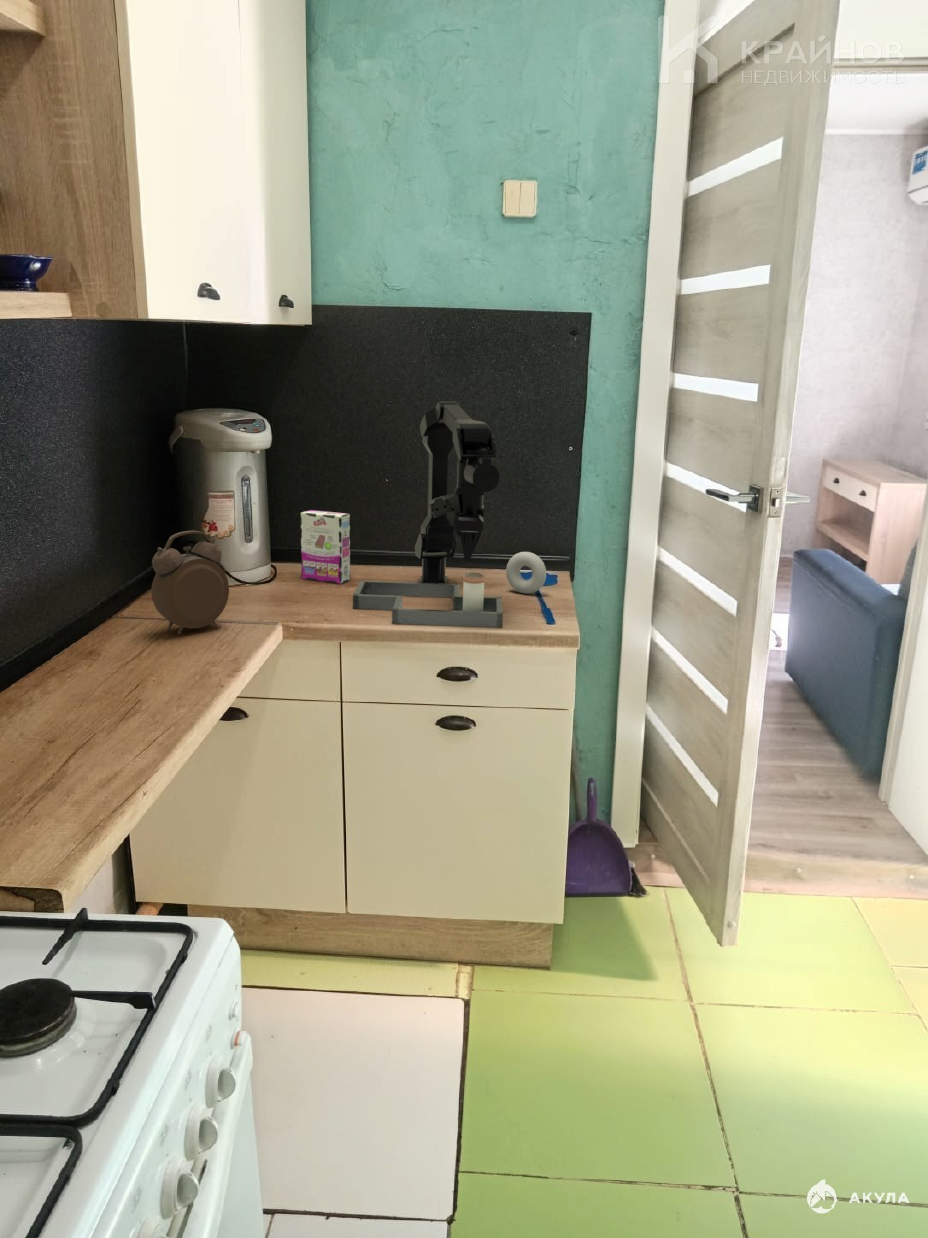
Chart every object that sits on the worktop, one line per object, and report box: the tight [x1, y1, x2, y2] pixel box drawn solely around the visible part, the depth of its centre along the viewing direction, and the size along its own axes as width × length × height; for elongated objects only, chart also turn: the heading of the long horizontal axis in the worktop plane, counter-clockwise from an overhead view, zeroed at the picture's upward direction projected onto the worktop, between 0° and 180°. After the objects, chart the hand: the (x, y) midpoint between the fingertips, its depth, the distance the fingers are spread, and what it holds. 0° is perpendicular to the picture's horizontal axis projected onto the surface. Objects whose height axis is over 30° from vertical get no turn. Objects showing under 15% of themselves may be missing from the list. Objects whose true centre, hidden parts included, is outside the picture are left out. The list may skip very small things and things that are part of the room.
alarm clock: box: [150, 530, 230, 635], centre depth 193 cm, size 14×7×20 cm, turn 135°
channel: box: [352, 580, 504, 629], centre depth 215 cm, size 23×32×3 cm
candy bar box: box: [299, 509, 351, 585], centre depth 236 cm, size 11×5×16 cm, turn 68°
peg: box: [462, 572, 486, 612], centre depth 209 cm, size 4×4×9 cm
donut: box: [505, 551, 547, 594], centre depth 230 cm, size 10×4×10 cm, turn 64°
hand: (467, 555), depth 212 cm, fingers open, 9 cm apart
